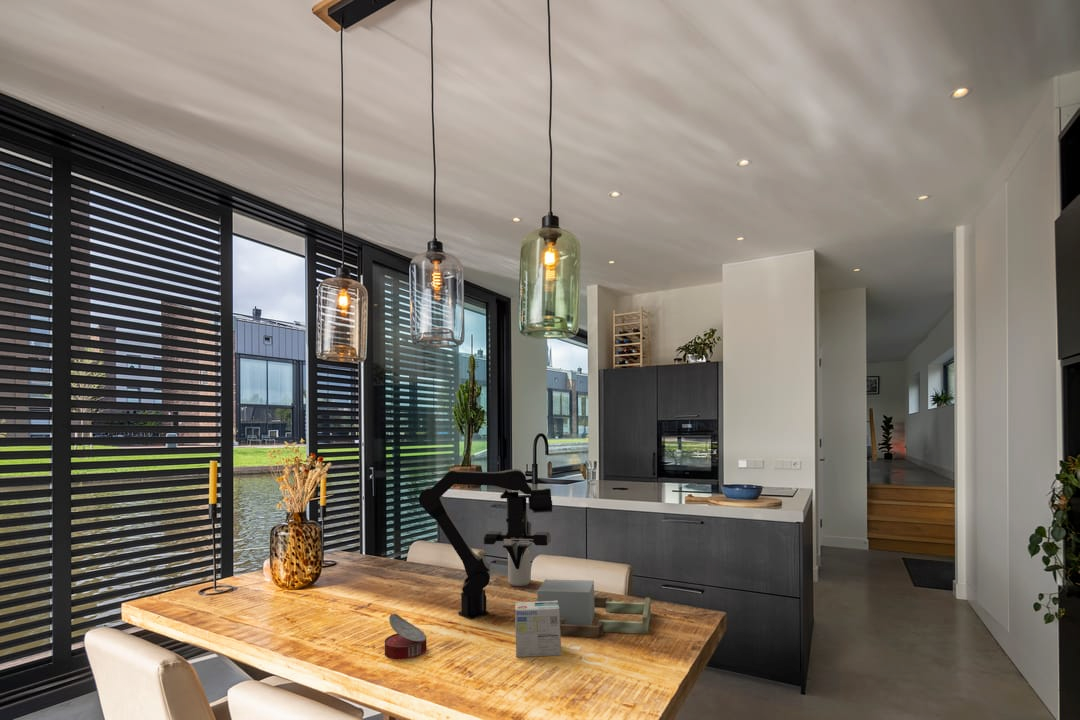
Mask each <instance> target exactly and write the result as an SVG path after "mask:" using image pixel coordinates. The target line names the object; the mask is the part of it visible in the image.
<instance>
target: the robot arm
mask: <svg viewBox="0 0 1080 720" xmlns="http://www.w3.org/2000/svg"><path fill="white" fill-rule="evenodd" d="M454 485H465V486H467V485H468V486H469V485H470V486H494V487H497V488H502V489H504V491H503V492H502V493H501V494H500V499H501V500H503V499H506V518H505V520H506V521H505V522H506V528H507V529H506V534H503V533H502V530H500V531H498V530H497V531H496V530H494V531H493V530H489V532H486V533H485V534H484V535H483V545H495V544H496V543H497V542H503V545H502V548H505V549H506V550H507V553H508V552H509V554H510V556H511V558H512V561H513V563H514V565H515V568H516V569H520V565H521V562H522V559H523V555H524V553H525V550H526V548H528V549H529V547H530V546H532V543H533V544H534V545H535V546H543V547H544V546H545V547H546V546H548V545H549V544H550V543H551V541H552V538H551V537H552V535H551V534H550V532H549V531H537V532H535V533H534V534H532V523H531V522H530V521H529V520H528V515H527V503H528V510H530V511H532V513H533V514H540V513H541V514H542V513H553V500H552V494H551V493H552V492H551V488H544V489H543V488H542V489H537V488H536V489H532V487H531V486H530V485H529V484H528V483H527V477H526V474H525V473H524V472H523V471H522V470H521V469H518V468H514V469H513V468H511V469H505V470H501V471H495V472H494V471H493V472H492V471H472V470H471V471H466V470H455V469H450V470H449V471H448V472H446V473H445V475H444V476H443V477H442V478H440V479H439V481H437V482H436V484H434V485H432V486H428V487H426V488H424V489H423V490H422V491H421V492H420V494H419V496H418V503H419V505H420V506H421V508H422V509H423V510H424V511H425V512H426V513H427V514H428V515H429V516H430V517H431V518H433V519H434V520H435V521H436V523H437V525H438V526H439V527H440V529H441V530H442V532H443V533H444V535H445V537H446V538H447V540H448V542H449V543H450V544H451V546H452V547H453V549H454V551H455V552H456V553H457V555H458V557H459V559H460V560H461V562H462V564H463V568H464V571H465V574H466V575H467V576H466V578H465V579H464V580H463V584H462V586H461V587H462V589H461V590H462V592H460V596H461V598H460V599H461V600H460V603H461V604H460V605H461V607H460V608H461V609H460V610H461V611H458V612H457V614H458V615H459V616H462V617H466V618H468V619H474V618H478V617H483V616H485V615H489V614H490V611H488V610H487V595H486V590H485V588H486V587H487V586H488V585H489V583H490V580H491V569H490V568H491V564H490V563H488V562H487V560H486V559H485V556H484V554H483V553H481V554H480V555H479V556H478V554H476V553H475V552H474V551H473V549H472V548H471V546H470V544H469V543H468V541H467V539H466V538H465V537H464V535H463V533H462V532H461V530H460V529H459V527H458V525H457V524H456V522H455V521H454V519H453V517H452V516H451V514H450V513H449V511H448V508H447V506H446V503H445V500H444V498H443V495H444V494H445V493H446V492H448V491H449V490H450V489H451V488H452V487H453V486H454ZM508 490H510V491H508ZM518 491H519V492H521V493H523V494H519V492H518ZM527 498H528V502H527ZM518 543H519V544H518Z"/></svg>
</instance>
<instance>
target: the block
mask: <svg viewBox="0 0 1080 720" xmlns="http://www.w3.org/2000/svg"><path fill="white" fill-rule="evenodd" d="M594 583H595V581H594V580H583V579H581V580H579V579H548V578H547V579H544V580H543V582H542V583H541V585H540V586H539V588H538V589H537V602H539V601H558V605H559V612H560V618H565V624H573V625H592V623H593V619H594V616H595V613H596V612H595V608H596V606H595V604H594V596H595V584H594Z"/></svg>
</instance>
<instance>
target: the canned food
mask: <svg viewBox="0 0 1080 720" xmlns="http://www.w3.org/2000/svg"><path fill="white" fill-rule="evenodd" d="M388 619H389V624H390V626H391V628H392V629H393V631H394V632H395V633H394V634H392V635H390V636H387V637H386V638H385V639H384V656H385V657H386V658H388V659H392V660H411V659H414V658H417V657H421V656H422V655H424V654H425V653H426V652H427V635H426V634H425V632H424V631H423V630H421V629H420V628H419V627H417V626H415V625H414V624H413V623H411V622H409V621H408V620H406V619H404V618H403V617H401V615H399V614H397V613H391V614H390V616H389V618H388Z"/></svg>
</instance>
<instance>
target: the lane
mask: <svg viewBox="0 0 1080 720" xmlns="http://www.w3.org/2000/svg"><path fill="white" fill-rule="evenodd" d="M594 604H595V607H599V608H601V607H603V608H604V607H605V612H606V613H623V614H627V613H628V614H642V619H641V620H642V621H635V620H633V621H631V620H614V619H612V620H611V619H610V620H608V619H599V620H598V622H597V625H592V624H591V625H573V624H565V618H560V634H561V637H576V638H577V637H579V638H597V639H599V638H600V637H602V636H603V634H604V632H606V633H620V634H621V633H625V634H642V635H647V634H649V629H650V620H651V613H652V611H651V610H652V609H651V597H645V599H644V602H631V601H630V602H627V601H625V602H624V601H613V598H612V597H611V596H595V595H594Z"/></svg>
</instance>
